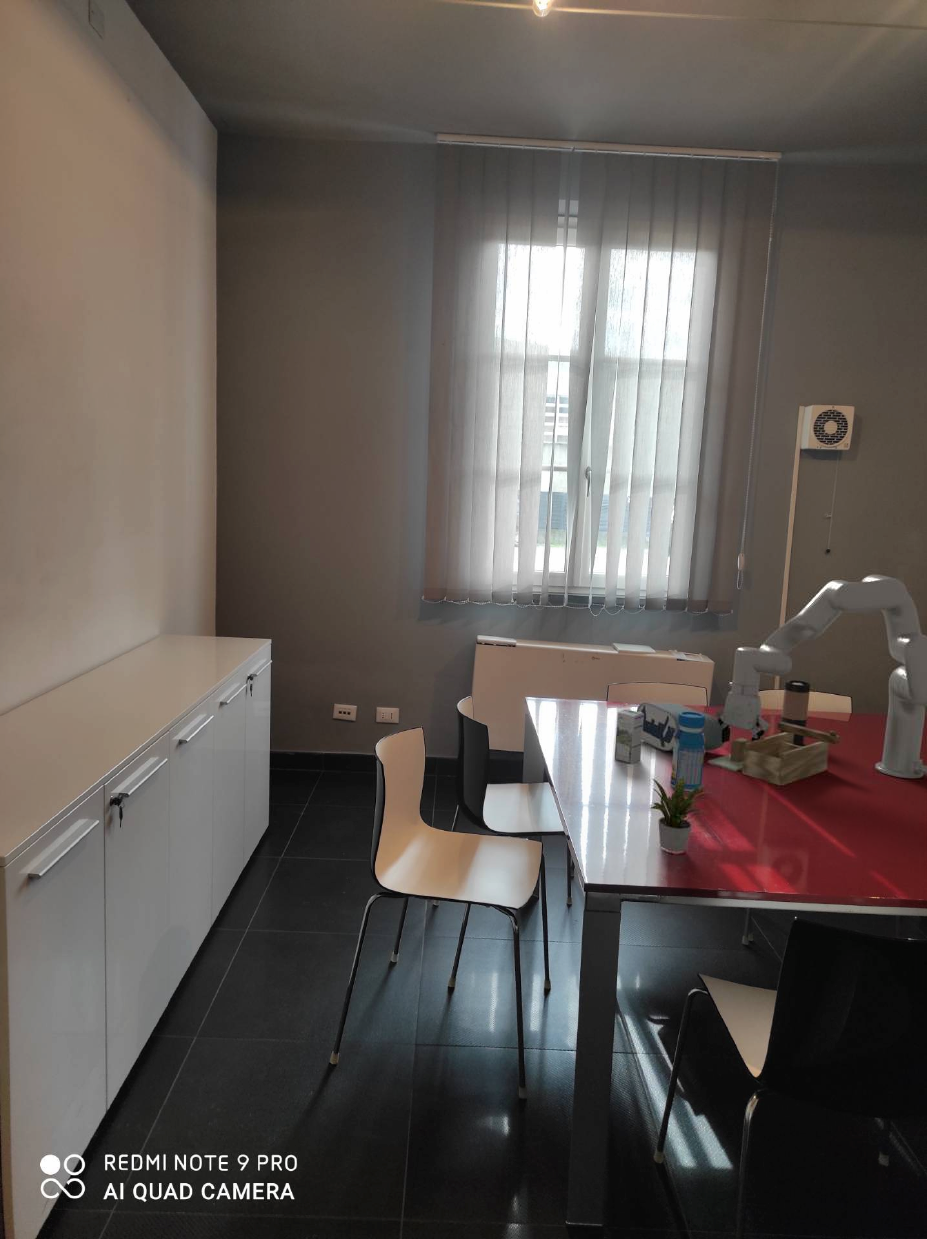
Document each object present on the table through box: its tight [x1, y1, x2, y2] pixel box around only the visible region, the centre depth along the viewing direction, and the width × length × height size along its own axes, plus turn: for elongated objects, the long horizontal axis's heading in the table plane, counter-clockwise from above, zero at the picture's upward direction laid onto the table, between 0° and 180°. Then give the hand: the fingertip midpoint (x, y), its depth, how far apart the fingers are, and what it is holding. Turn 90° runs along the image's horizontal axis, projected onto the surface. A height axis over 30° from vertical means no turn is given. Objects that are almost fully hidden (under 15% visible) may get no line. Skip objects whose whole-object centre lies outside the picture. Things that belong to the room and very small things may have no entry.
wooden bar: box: [776, 721, 841, 745], centre depth 252 cm, size 18×2×3 cm, turn 40°
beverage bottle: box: [669, 712, 706, 792], centre depth 228 cm, size 8×8×20 cm
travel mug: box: [779, 679, 811, 747], centre depth 276 cm, size 8×8×20 cm
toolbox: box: [741, 732, 830, 786], centre depth 246 cm, size 12×25×9 cm, turn 130°
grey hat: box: [636, 702, 726, 752], centre depth 267 cm, size 22×19×13 cm
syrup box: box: [613, 708, 644, 765], centre depth 249 cm, size 6×6×14 cm
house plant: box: [649, 777, 713, 851], centre depth 185 cm, size 14×14×16 cm
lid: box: [707, 737, 750, 773], centre depth 254 cm, size 9×18×7 cm, turn 131°
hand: (739, 745), depth 253 cm, fingers open, 9 cm apart
